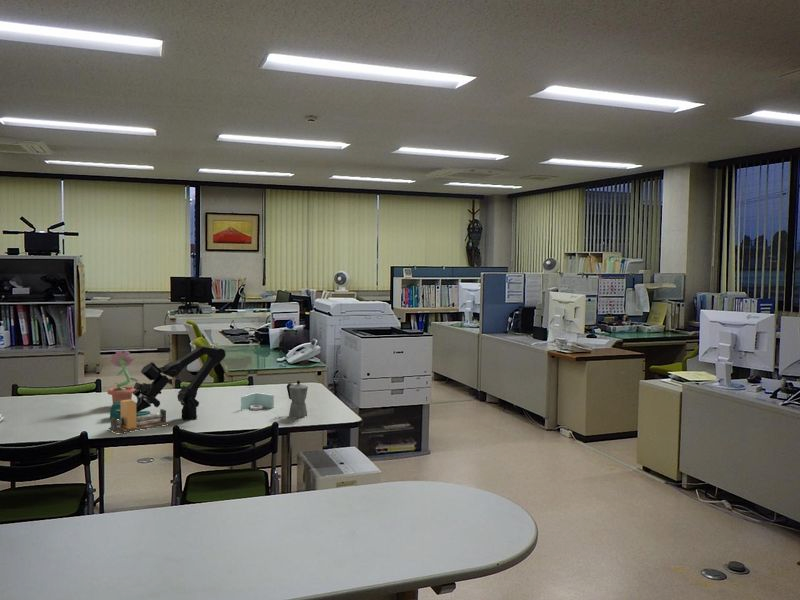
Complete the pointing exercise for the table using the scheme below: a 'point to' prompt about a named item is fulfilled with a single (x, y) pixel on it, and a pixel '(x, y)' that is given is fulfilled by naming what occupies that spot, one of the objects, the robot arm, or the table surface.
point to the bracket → (117, 414)
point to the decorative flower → (120, 391)
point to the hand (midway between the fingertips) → (133, 412)
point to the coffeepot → (297, 399)
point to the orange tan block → (129, 413)
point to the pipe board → (140, 422)
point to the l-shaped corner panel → (257, 401)
